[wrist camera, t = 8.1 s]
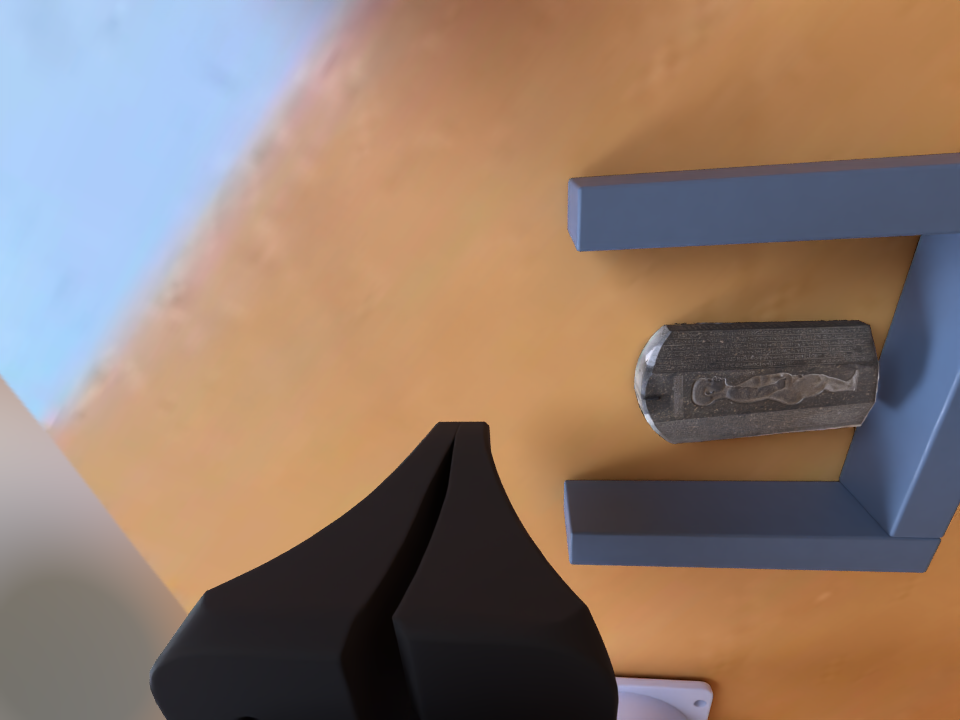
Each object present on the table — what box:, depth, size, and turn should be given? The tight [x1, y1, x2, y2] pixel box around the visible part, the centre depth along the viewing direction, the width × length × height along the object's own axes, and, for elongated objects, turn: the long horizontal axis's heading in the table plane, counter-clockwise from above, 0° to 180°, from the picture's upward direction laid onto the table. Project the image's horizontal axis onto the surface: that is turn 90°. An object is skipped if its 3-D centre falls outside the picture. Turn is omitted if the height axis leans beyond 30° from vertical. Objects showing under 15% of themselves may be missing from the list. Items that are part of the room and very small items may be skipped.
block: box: [634, 320, 879, 444], centre depth 13 cm, size 4×6×2 cm, turn 102°
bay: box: [564, 153, 960, 573], centre depth 13 cm, size 11×10×2 cm
